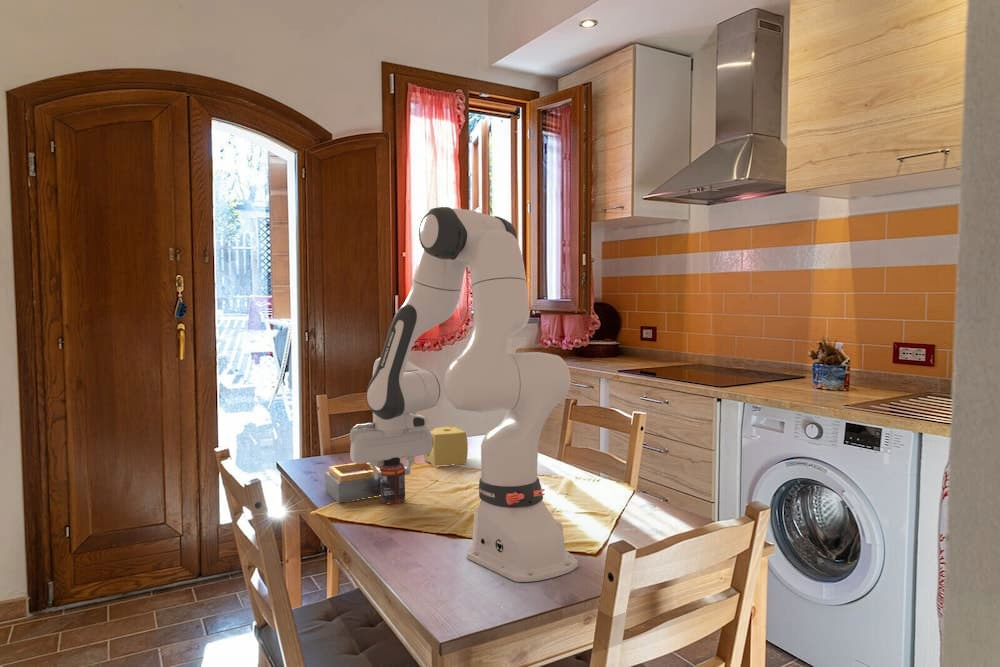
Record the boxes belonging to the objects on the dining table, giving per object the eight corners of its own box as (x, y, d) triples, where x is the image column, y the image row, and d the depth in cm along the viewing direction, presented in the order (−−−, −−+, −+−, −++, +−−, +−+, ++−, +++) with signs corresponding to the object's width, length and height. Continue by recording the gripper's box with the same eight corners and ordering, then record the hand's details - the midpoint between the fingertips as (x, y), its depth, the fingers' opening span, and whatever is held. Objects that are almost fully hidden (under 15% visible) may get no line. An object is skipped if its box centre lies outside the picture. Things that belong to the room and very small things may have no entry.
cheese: (423, 460, 200) (422, 428, 199) (456, 456, 204) (455, 425, 204) (434, 468, 190) (434, 434, 190) (468, 464, 195) (468, 431, 194)
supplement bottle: (406, 497, 163) (405, 452, 163) (403, 504, 157) (403, 458, 157) (382, 497, 163) (381, 453, 163) (379, 505, 157) (378, 459, 157)
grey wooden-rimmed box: (386, 495, 165) (385, 470, 164) (338, 503, 159) (338, 477, 158) (370, 484, 175) (369, 460, 175) (325, 491, 169) (325, 466, 169)
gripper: (353, 427, 151) (354, 486, 152) (434, 418, 161) (435, 473, 162) (345, 423, 157) (346, 479, 158) (424, 414, 167) (425, 467, 168)
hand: (392, 476), depth 160 cm, fingers closed on supplement bottle, 6 cm apart
